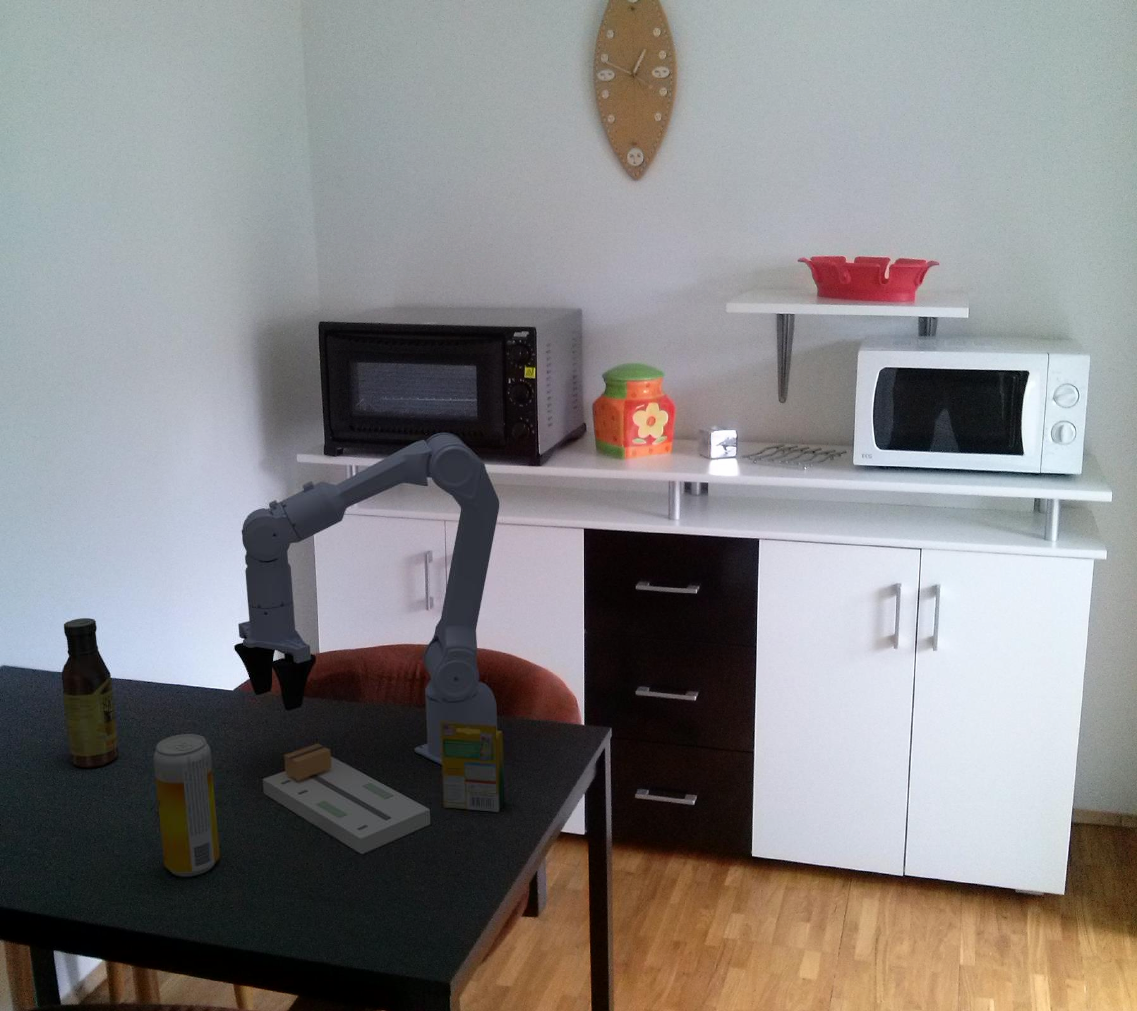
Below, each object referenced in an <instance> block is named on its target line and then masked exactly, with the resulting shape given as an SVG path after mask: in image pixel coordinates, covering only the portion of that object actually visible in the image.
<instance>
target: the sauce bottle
mask: <svg viewBox="0 0 1137 1011" xmlns="http://www.w3.org/2000/svg"><path fill="white" fill-rule="evenodd" d="M97 628H98V627H97V621H96V620H95V618H89V617H88V618H87V617H86V618H85V617H82V618H76V619H72V620H69V621H66V622H65V623H64V624H63V632H64V636H65V638H66V642H67V650H66V651H67V654H68V658H67V660H66V662H65V664H63V668H62V670H61V681H62V688H63V692H62V694H63V695H62V696H63V704H64V712H65V721H66V730H67V739H68V746H69V754H70V756H71V762H72V763H73V765H74V766H77V767H80V768H94V767H101V766H104V765H106V764H109V763H111V762H112V761H114V760H115V759H116V758H117V757H118V753H119V748H118V747H119V746H118V745H119V741H118V740H119V738H118V729H117V720H116V710H115V703H114V694H113V692H114V691H113V683H112V677H111V676H112V675H111V672H110V671H109V669H108V667H107V665H106V663H105V661H104V658H103V657H102V655H101V653H100V651H99V646H98V641H97V640H98V639H97Z"/></svg>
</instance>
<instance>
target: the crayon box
mask: <svg viewBox="0 0 1137 1011" xmlns="http://www.w3.org/2000/svg"><path fill="white" fill-rule="evenodd" d="M440 723H441V751H442V765H441V773H442V774H441V775H442V797H443V798H442V799H443V801H442V803H443V809H460V810H470V811H471V810H472V811H480V812H481V811H484V812H493V813H500V811H501V809H502V807H503V805H504V804H505V803H506V802H505V800H506V798H505V796H506V795H505V793H506V792H505V772H504V767H505V766H504V744H503V743H504V741H503V740H504V739H503V731H502V730H497V731H496V725H484V724H468V723H454V722H440ZM465 727H470V728H472V729H462V728H465ZM476 729H479V730H476Z"/></svg>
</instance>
